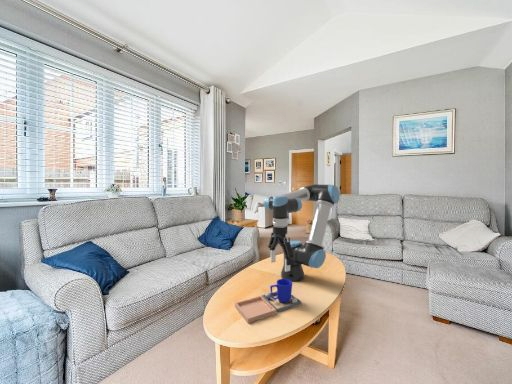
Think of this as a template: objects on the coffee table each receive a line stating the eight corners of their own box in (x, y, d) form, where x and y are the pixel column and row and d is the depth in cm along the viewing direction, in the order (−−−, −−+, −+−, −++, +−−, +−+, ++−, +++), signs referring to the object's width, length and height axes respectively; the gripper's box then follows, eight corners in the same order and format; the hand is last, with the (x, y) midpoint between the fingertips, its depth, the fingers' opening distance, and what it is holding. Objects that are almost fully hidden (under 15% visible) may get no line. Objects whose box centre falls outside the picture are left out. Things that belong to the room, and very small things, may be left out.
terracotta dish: (260, 299, 123) (260, 295, 123) (276, 313, 109) (276, 309, 109) (234, 306, 116) (234, 302, 116) (247, 323, 102) (247, 318, 102)
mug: (267, 299, 123) (267, 281, 122) (287, 295, 127) (287, 277, 126) (273, 307, 115) (274, 288, 114) (295, 302, 119) (295, 284, 119)
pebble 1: (268, 296, 125) (268, 291, 125) (271, 299, 123) (271, 293, 123) (264, 298, 124) (264, 292, 124) (267, 300, 121) (267, 295, 121)
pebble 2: (295, 301, 120) (295, 295, 120) (298, 304, 118) (298, 298, 118) (290, 302, 119) (290, 297, 119) (294, 305, 116) (294, 300, 116)
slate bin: (284, 291, 131) (284, 289, 131) (301, 304, 118) (301, 301, 118) (261, 298, 124) (261, 295, 124) (276, 312, 111) (276, 309, 111)
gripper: (262, 222, 128) (262, 259, 129) (288, 231, 106) (287, 276, 107) (273, 221, 131) (273, 257, 133) (301, 230, 109) (300, 273, 110)
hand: (279, 266), depth 120 cm, fingers open, 13 cm apart
